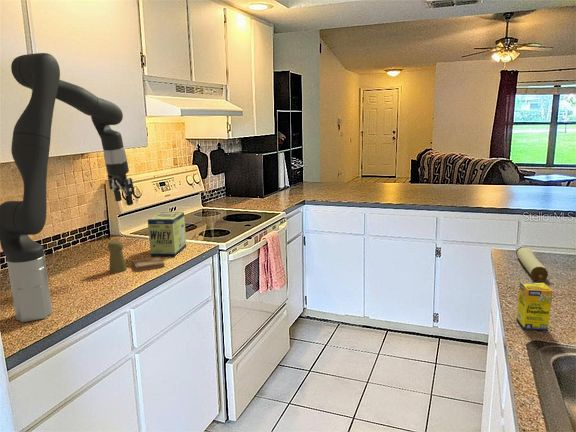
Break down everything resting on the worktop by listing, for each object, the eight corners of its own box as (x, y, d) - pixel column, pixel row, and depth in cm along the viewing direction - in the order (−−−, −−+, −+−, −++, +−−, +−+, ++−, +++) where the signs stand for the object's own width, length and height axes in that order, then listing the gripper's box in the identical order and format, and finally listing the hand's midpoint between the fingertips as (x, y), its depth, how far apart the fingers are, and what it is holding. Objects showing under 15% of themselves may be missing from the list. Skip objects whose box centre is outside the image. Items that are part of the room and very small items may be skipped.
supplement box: (523, 330, 115) (527, 289, 113) (515, 320, 121) (519, 281, 119) (548, 331, 114) (553, 290, 112) (539, 321, 120) (543, 282, 118)
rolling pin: (513, 255, 177) (514, 243, 175) (529, 256, 175) (530, 244, 174) (531, 284, 146) (533, 269, 145) (551, 286, 145) (552, 271, 144)
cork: (120, 273, 165) (117, 244, 162) (106, 272, 166) (102, 243, 164) (129, 268, 170) (127, 239, 168) (115, 267, 172) (112, 239, 169)
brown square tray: (164, 267, 171) (164, 262, 170) (136, 271, 166) (136, 267, 166) (159, 260, 179) (159, 256, 179) (133, 264, 175) (132, 259, 175)
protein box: (150, 257, 184) (147, 219, 180) (163, 246, 199) (160, 211, 195) (175, 257, 183) (172, 219, 179) (186, 246, 198) (184, 211, 195)
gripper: (97, 160, 167) (106, 202, 172) (115, 165, 157) (124, 209, 163) (116, 156, 172) (124, 197, 177) (135, 160, 162) (143, 203, 168)
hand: (124, 202), depth 170 cm, fingers open, 8 cm apart
